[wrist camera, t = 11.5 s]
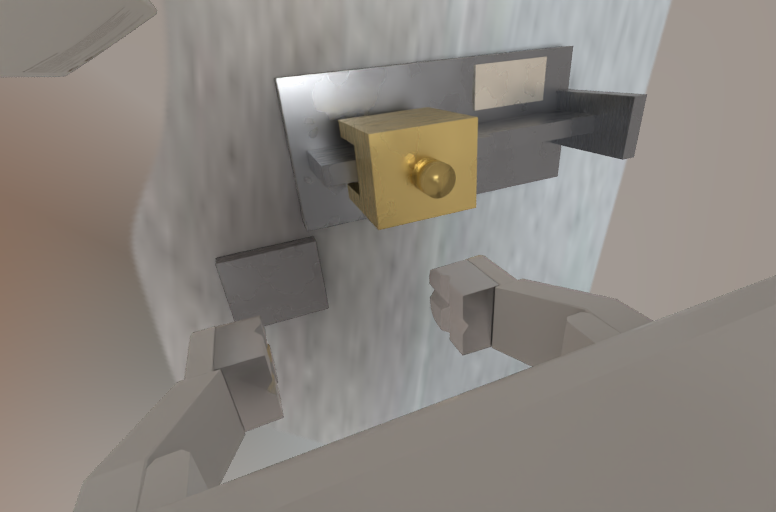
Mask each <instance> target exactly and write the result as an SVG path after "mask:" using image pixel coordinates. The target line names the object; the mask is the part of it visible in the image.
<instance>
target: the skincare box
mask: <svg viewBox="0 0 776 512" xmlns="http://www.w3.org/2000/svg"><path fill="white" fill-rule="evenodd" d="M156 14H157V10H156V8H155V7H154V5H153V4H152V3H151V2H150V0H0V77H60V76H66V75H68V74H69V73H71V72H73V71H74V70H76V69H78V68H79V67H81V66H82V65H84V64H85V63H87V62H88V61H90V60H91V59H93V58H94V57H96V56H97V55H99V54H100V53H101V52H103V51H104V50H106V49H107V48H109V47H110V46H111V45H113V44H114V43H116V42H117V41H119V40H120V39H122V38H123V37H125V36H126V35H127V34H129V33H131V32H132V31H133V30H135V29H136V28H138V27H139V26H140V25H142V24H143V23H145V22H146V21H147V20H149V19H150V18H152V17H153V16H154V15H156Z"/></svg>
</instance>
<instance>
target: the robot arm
mask: <svg viewBox="0 0 776 512" xmlns="http://www.w3.org/2000/svg"><path fill="white" fill-rule="evenodd" d="M429 284H430V285H431V286H432V287H433V288H434V289H435V290H434V292H433V293H432V295H431V297H430V303H431V310H432V314H433V317H434V319H435V321H436V323H437V325H438V326H439V327H440V328H441V330H443V331H446V332H449V333H450V341H451V342H452V343H453V344H454V346H455V347H456V348H457V349H458V350H459V352H460V353H461V354H462V355H466V354H469V353H472V352H475V351H479V350H482V349H485V348H488V347H491V346H492V348H494V349H496V350H498V351H500V352H502V353H504V354H506V355H509V356H511V357H513V358H515V359H517V360H519V361H521V362H524V363H526V364H528V365H530V366H532V367H531V368H528V369H526V370H523V371H520V372H518V373H515V374H512V375H510V376H507V377H504V378H502V379H499V380H496V381H494V382H491V383H488V384H486V385H483V386H480V387H478V388H475V389H472V390H470V391H467V392H465V393H462V394H459V395H457V396H454V397H451V398H449V399H446V400H443V401H441V402H438V403H436V404H433V405H430V406H428V407H425V408H422V409H420V410H417V411H414V412H412V413H409V414H406V415H404V416H401V417H399V418H396V419H393V420H391V421H388V422H385V423H383V424H380V425H377V426H375V427H372V428H369V429H367V430H364V431H361V432H359V433H356V434H354V435H351V436H348V437H346V438H343V439H340V440H338V441H335V442H332V443H330V444H327V445H324V446H322V447H319V448H317V449H314V450H311V451H308V452H306V453H303V454H301V455H298V456H295V457H292V458H290V459H288V460H284V461H282V462H280V463H276V464H274V465H271V466H269V467H266V468H263V469H261V470H258V471H255V472H253V473H250V474H247V475H245V476H242V477H239V478H237V479H234V480H231V481H229V482H226V483H223V484H221V485H220V483H221V482H222V480H223V478H224V475H225V474H226V472H227V470H228V468H229V466H230V464H231V462H232V460H233V458H234V456H235V454H236V452H237V450H238V448H239V446H240V444H241V442H242V440H243V438H244V436H245V432H246V431H249V430H252V429H254V428H257V427H260V426H262V425H265V424H268V423H270V422H273V421H276V420H278V419H281V418H284V416H283V410H282V403H281V397H280V393H279V389H278V386H277V383H278V379H277V373H276V369H275V364H274V360H273V356H272V352H271V348H270V345H269V344H268V343H267V339H266V332H265V328H264V325H263V322H262V319H261V316H260V315H259V316H255V317H251V318H247V319H243V320H239V321H235V322H231V323H227V324H223V325H219V326H216V327H211V328H207V329H204V330H200V331H197V332H193V333H192V334H191V336H190V342H189V349H188V357H187V364H186V371H185V378H184V380H182V381H179V382H177V383H176V384H175V385H174V386H173V387H172V388H171V389H170V390H169V391H168V392H167V393H166V395H164V397H163V398H162V399H161V400H160V401H159V402H158V403H157V404H156V405H155V406H154V407H153V408H152V409H151V410H150V412H148V413H147V414H146V416H145V417H144V418H143V419H142V420H141V421H140V422H139V423H138V424H137V425H136V426H135V427H134V428H133V429H132V430H131V431H130V432H129V434H128V435H127V436H126V437H125V438H124V439H123V440H122V441H121V442H120V443H119V444H118V445H117V446H116V447H115V448H114V449H113V450H112V452H111V453H110V454H109V455H108V456H107V457H106V458H105V459H104V460H103V461H102V462H101V463H100V464H99V465H98V466H97V467H96V468H95V469H94V471H93V472H92V473H91V474H90V475H89V476H88V477H87V478H86V479H85V480H84V481H83V484H82V487H81V490H80V493H79V495H78V498H77V501H76V504H75V507H74V510H73V512H776V275H775V276H772V277H770V278H767V279H764V280H762V281H759V282H756V283H754V284H751V285H749V286H746V287H743V288H740V289H738V290H735V291H733V292H730V293H727V294H725V295H722V296H719V297H717V298H714V299H712V300H709V301H706V302H703V303H701V304H698V305H695V306H693V307H690V308H687V309H685V310H682V311H680V312H677V313H674V314H672V315H669V316H666V317H664V318H661V319H659V320H656V321H653V320H651V319H649V318H648V317H646V316H644V315H643V314H641V313H639V312H638V311H636V310H634V309H633V308H631V307H629V306H628V305H626V304H624V303H622V302H621V301H619V300H618V299H614V298H610V297H606V296H601V295H596V294H591V293H587V292H582V291H578V290H573V289H568V288H564V287H559V286H554V285H550V284H545V283H540V282H536V281H531V280H526V279H520V280H517V279H515V278H514V277H513V276H511V275H510V274H509V273H507V272H506V271H504V270H503V269H502V268H500V267H499V266H498V265H496V264H495V263H493V262H492V261H491V260H489V259H488V258H487V257H485V256H483V255H478V256H474V257H471V258H468V259H465V260H462V261H459V262H455V263H452V264H449V265H445V266H442V267H439V268H435V269H432V270H430V275H429Z"/></svg>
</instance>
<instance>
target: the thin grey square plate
mask: <svg viewBox="0 0 776 512" xmlns="http://www.w3.org/2000/svg"><path fill="white" fill-rule="evenodd" d="M215 265H216V268H217V270H218V273H219V276H220V279H221V282H222V285H223V288H224V291H225V294H226V297H227V300H228V303H229V306H230V309H231V312H232V315H233V318H234V321H239V320H243V319H247V318H251V317H255V316H259V315H260V316H261V319H262V322H263V325H264V326H267V325H270V324H274V323H277V322H281V321H285V320H288V319H292V318H295V317H299V316H302V315H306V314H310V313H313V312H317V311H320V310H324V309H328V308H329V307H328V302H327V297H326V291H325V286H324V281H323V276H322V271H321V265H320V260H319V255H318V250H317V245H316V241H315V239H314V237H308V238H304V239H299V240H295V241H290V242H286V243H282V244H277V245H273V246H268V247H264V248H259V249H255V250H250V251H246V252H242V253H237V254H233V255H228V256H224V257H219V258H216V263H215Z"/></svg>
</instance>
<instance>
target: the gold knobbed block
mask: <svg viewBox="0 0 776 512" xmlns="http://www.w3.org/2000/svg"><path fill="white" fill-rule="evenodd" d="M338 122H339V129H340V137H342V138H343V139H345V140H347V141H348V142H350V143H351V144H353V145H354V150H355V158H356V166H357V174H358V182H353V183H348V184H347V187H348V194H349V199H350V200H351V201H352V202H353V203H354V204H355V205H356V206H357V207H358V208H359V209H360V210H361V212H362V213H363V214H364V215H365V216H366V217H367V218H368V219H369V220H370V221H371V222H372V223H373V224H374V225H375V227H376V228H377V229H378V230H381V229H385V228H390V227H394V226H398V225H403V224H407V223H411V222H416V221H420V220H424V219H429V218H433V217H437V216H442V215H446V214H450V213H455V212H459V211H463V210H468V209H472V208H476V186H477V138H478V117H475V116H470V115H465V114H460V113H455V112H450V111H445V110H440V109H435V108H430V107H424V108H417V109H411V110H404V111H397V112H390V113H383V114H376V115H369V116H362V117H355V118H348V119H341V120H338Z"/></svg>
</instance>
